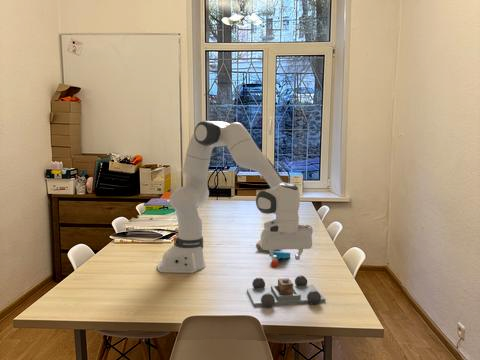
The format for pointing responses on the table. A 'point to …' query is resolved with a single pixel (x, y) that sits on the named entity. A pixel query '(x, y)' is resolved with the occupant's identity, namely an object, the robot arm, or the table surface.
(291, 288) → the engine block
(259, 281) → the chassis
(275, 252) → the lever
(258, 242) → the puzzle game
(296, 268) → the table surface
